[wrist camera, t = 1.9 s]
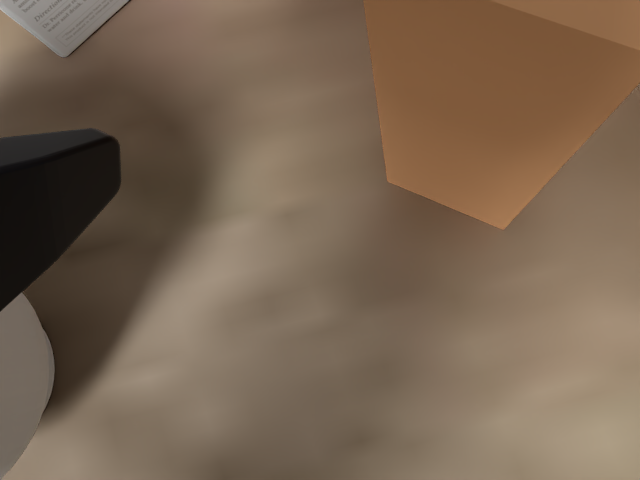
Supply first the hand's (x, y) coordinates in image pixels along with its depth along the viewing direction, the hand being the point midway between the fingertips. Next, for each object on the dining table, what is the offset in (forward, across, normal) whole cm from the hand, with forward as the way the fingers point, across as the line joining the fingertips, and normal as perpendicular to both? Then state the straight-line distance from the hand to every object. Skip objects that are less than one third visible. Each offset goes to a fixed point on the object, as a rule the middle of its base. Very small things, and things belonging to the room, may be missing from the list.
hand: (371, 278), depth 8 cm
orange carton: (+14, 0, +4) cm, 14 cm away
